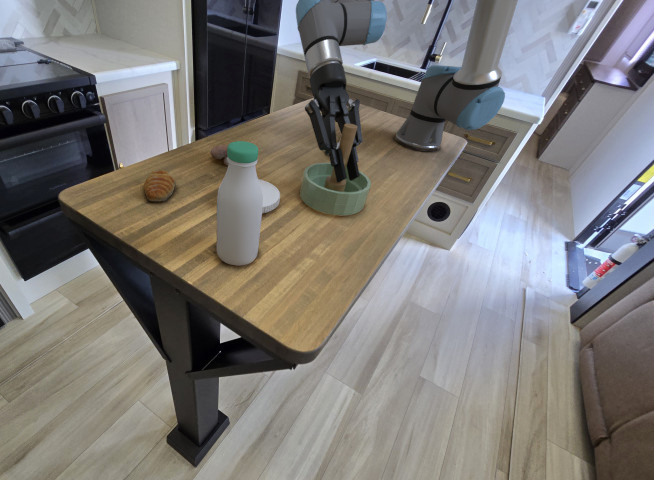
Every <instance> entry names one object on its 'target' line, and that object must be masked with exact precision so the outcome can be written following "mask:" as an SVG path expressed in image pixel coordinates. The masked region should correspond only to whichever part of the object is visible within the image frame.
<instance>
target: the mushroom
mask: <svg viewBox="0 0 654 480" xmlns="http://www.w3.org/2000/svg"><path fill="white" fill-rule="evenodd" d="M228 145H229V144H218V145H215V146H214V147H212V148H211V149H210V155H211V156H212V158H213V159H215V160H222V159H223V163H224V165H226V166H228V164H229V162H228V161H227V157H228V156H227V147H228Z"/></svg>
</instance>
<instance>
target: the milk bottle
mask: <svg viewBox="0 0 654 480" xmlns="http://www.w3.org/2000/svg"><path fill="white" fill-rule="evenodd" d="M227 145H228V147H227V156H228V157H227V161H228V162H229V164H228V165H227V169H226V172H225V175H224V177H223V178H222V180H221V183H220V185H219V187H218V190H219V191H218V190H217V197H216V254H217V257H218V258H219V259H220V260H221V261H222V262H224V263H225V264H227V265H231V266H246V265H249V264H251V263H252V262H254V261H255V259H256V258H257V257H258V254H259V253H258V252H259V244H260V238H261V237H260V236H261V227H262V218H263V217H262V216H263V213H262V206H263V195H262V190H261V186H260V183H259V181H258V179H259V177H258V174H257V169H256V165H257V164H258V157H259V147H258V146H257V145H256V144H254V143H252V142H249V141H245V140H236V141H232V142H229V144H227Z"/></svg>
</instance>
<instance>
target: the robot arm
mask: <svg viewBox="0 0 654 480" xmlns="http://www.w3.org/2000/svg"><path fill="white" fill-rule="evenodd" d="M518 1H519V0H476V3H475V7H474V12H473V16H472V21H471V25H470V28H469V32H468V38H467V42H466V46H465V51H464V55H463V59H462V64H461V66H454V65H453V66H451V65H441V64H439V65H438V64H432V65H429V67H427V68H426V70H425V73H424V76H423V77H422V78H421V82H420V85H419V88H418V90H417V92H416V96H415V98H414V101H413V104H412V106H411V110H410V112H409V114H408V116H407V117H406V120H404V122H403V123H402V125H401V126H400V128H399V129H398V130H397V132H396V134H395V137H394V139H395V141H396V143H398V144H400V145H401V146H403V147H406V148H409V149H411V150H414V151H420V152H431V153H432V152H436V151H438V150H440V147H441V145H442V141H443V134H444V127H445V123H446V121H448V122H449V123H452V124H454V125H455V126H456V127H457V128H459V129H464V130H466V131H475V130H478V129H480V128H482V127H484V126H485V125H487V124H489V122H491V120H492V119H493V118H495V117H496V115H497V114H498V113H499V111H500V110H501V108H502V107H503V104H504V102H505V99H506V93H505V90H504V89H503V87H501V86H499V85H500V82H501V79H502V76H503V71H502V70H501V69H500V67H499V64H500V61H501V57H502V54H503V51H504V47H505V44H506V41H507V37H508V36H509V35H508V34H509V31H510V28H511V24H512V21H513V18H514V15H515V11H516V8H517V4H518ZM295 19H296V25H297V30H298V33H299V34H298V35H299V38H300V43H301V47H302V52H303V56H304V62H305V66H306V71H307V75H308V78H309V85H310V90H311V94H312V96H313V99H311V100H310V101H309V102H308V103H307V104H306V105H305V106H304V111H305V112H306V114H307V115H308V118H309V119H310V124H311V126H312V130H313V133H314V137H315V140H316V143H317V146H318V150H319V151H321V152H323V151H324V154H325V155H328V158H329V163H331V166H332V167H334V171H335V175H336V180H337V182H341V181H343V180H344V179H346V178H347V175H346V171H345V166H344V161H343V156H342V152H341V148H338V149H336V148H337V146H338V145H337V143H338V140H337V130H336V123H337V125H338V129H339V132H340V134H341V135H342V132H343V128H344V124H354V125H356V126H357V131H356V134H355V138H354V141H353V145H352V148H351V152H350V155H349V159H348V163H347V170H348V175H349V180H350V181H352V180H354V179H356V178H358V177H359V176H360V174H359V171H360V170H359V165H358V162H359V155H358V151H357V147H358V146H359V145H362V144H363V142H364V141H363V131H362V123H361V115H360V105H361V101H360V99H359V98H356V99H355V100H353V99H352V98H350V95H349V93H348V91H347V77H346V72H345V67H344V66H343V65H344V64H343V63H344V62H343V57H342V52H341V47H345V46H346V47H347V46H348V47H349V46H360V45H361V46H362V45H363V46H366V45H369V44H375V43H377V42H378V41H380V39H381V38H382V37H383V35H384V32H385V30H386V25H387V19H388V13H387V8H386V5H385V3H384V2H382V1H381V0H298V1H297V3H296V6H295ZM341 135H340V136H341Z"/></svg>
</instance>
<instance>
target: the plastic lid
mask: <svg viewBox="0 0 654 480" xmlns="http://www.w3.org/2000/svg"><path fill="white" fill-rule="evenodd" d="M258 181H259V183H260V186H261V190H262V195H263V206H262V214H266V213H269V212H272V211H273V210H274V209H276V208H277V207H278V206H279V205H280V202H281V201H280V199H281V192H280V190H279V188H278V187H277V186H275V185H274V184H272V183H271V182H268V181H266V180H263V179H260V178H258ZM218 191H219V189H218V190H217V192H218Z"/></svg>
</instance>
